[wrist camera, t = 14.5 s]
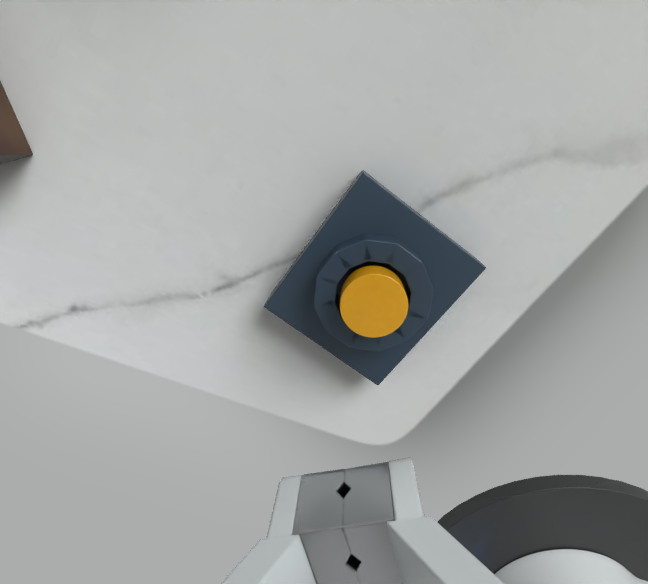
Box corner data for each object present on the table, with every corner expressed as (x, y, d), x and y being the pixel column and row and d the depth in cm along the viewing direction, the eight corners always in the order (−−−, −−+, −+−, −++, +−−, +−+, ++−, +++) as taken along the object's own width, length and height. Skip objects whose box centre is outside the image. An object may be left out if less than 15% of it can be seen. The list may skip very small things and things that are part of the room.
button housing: (376, 369, 29) (379, 402, 26) (270, 295, 28) (257, 318, 24) (476, 258, 26) (496, 276, 23) (362, 169, 25) (364, 173, 21)
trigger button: (377, 336, 25) (379, 350, 23) (328, 301, 24) (326, 312, 22) (417, 290, 24) (422, 301, 22) (367, 252, 23) (368, 260, 21)
